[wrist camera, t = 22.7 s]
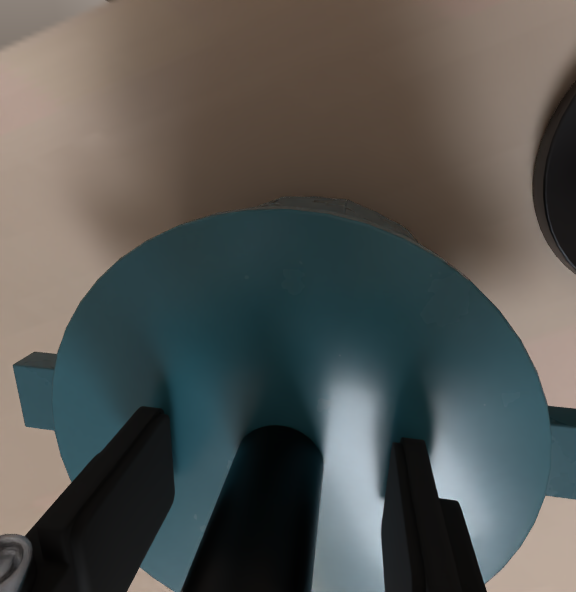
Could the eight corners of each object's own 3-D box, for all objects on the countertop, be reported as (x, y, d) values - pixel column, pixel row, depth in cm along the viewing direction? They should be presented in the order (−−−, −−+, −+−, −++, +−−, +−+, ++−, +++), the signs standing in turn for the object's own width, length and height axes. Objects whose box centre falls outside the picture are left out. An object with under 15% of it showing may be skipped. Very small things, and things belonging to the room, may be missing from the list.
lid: (44, 191, 11) (-357, 235, 5) (593, 217, 9) (1092, 342, 3) (103, 562, 16) (-69, 838, 9) (482, 630, 14) (591, 1031, 7)
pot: (111, 187, 18) (-45, 206, 11) (553, 207, 16) (716, 247, 9) (136, 429, 22) (34, 556, 15) (490, 475, 20) (566, 651, 13)
